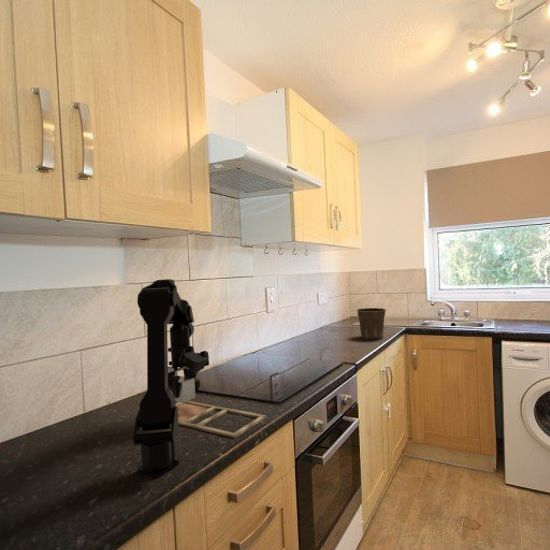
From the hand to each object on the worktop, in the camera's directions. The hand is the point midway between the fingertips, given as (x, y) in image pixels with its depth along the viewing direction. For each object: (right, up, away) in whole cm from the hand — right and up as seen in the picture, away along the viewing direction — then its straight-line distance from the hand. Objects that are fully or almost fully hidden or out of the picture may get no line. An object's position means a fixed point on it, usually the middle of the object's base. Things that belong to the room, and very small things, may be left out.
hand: (183, 395), depth 115 cm
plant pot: (+84, 0, +102) cm, 132 cm away
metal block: (0, -1, 0) cm, 1 cm away
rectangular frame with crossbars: (+8, -5, -5) cm, 10 cm away
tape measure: (-3, -6, +22) cm, 23 cm away
